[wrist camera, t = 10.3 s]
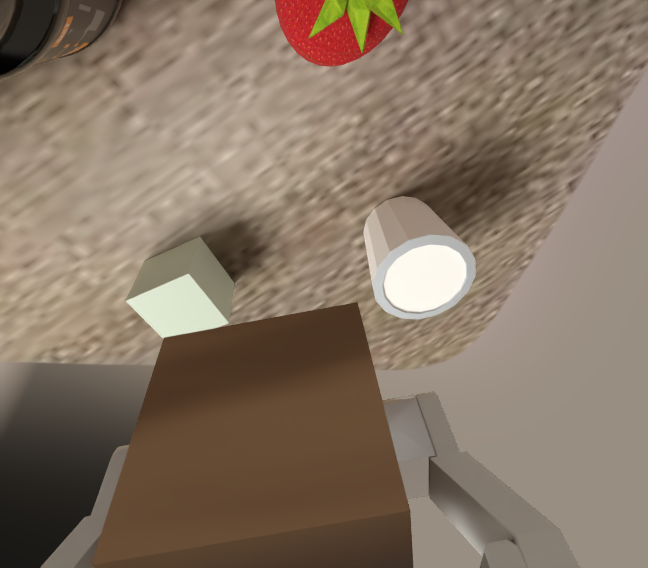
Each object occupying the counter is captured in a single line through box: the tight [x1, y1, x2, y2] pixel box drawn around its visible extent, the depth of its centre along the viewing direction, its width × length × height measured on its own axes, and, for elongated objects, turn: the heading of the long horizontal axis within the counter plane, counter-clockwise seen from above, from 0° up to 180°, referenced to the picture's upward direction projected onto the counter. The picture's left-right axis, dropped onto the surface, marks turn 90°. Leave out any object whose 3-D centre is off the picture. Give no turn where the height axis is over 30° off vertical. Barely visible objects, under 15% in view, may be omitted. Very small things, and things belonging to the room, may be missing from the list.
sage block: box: [126, 236, 234, 339], centre depth 30 cm, size 5×5×5 cm
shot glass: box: [364, 196, 475, 319], centre depth 29 cm, size 7×7×7 cm
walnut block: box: [91, 303, 413, 568], centre depth 10 cm, size 5×5×5 cm
